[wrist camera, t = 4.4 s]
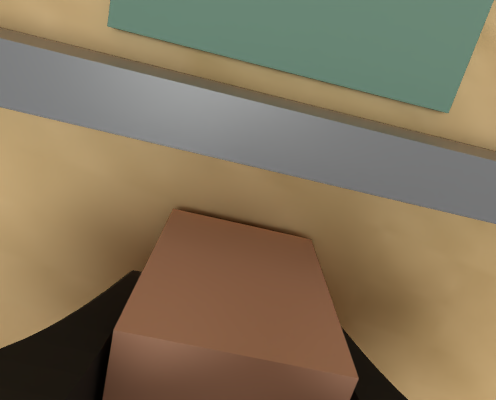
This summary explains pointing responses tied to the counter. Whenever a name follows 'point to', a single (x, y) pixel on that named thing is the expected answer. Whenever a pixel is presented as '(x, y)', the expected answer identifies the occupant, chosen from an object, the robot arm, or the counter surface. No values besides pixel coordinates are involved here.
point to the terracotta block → (229, 320)
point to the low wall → (243, 126)
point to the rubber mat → (328, 39)
